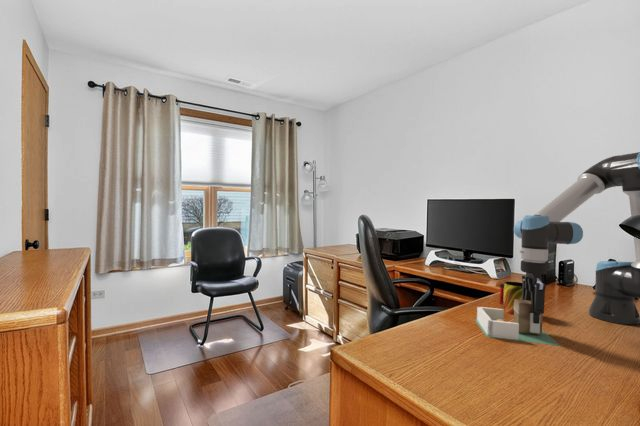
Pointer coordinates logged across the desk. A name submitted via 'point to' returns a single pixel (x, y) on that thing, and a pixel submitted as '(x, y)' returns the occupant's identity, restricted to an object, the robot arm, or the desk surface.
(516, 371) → the desk surface
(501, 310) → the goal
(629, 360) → the desk surface
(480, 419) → the desk surface
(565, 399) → the desk surface
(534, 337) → the mat
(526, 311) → the player block
